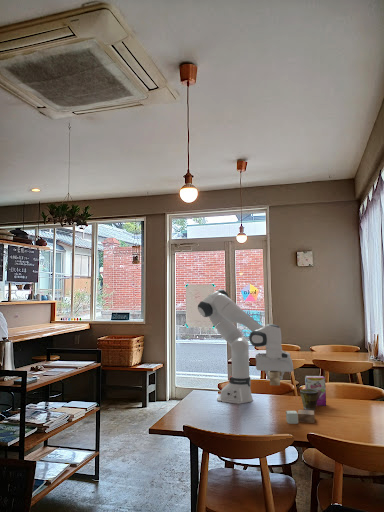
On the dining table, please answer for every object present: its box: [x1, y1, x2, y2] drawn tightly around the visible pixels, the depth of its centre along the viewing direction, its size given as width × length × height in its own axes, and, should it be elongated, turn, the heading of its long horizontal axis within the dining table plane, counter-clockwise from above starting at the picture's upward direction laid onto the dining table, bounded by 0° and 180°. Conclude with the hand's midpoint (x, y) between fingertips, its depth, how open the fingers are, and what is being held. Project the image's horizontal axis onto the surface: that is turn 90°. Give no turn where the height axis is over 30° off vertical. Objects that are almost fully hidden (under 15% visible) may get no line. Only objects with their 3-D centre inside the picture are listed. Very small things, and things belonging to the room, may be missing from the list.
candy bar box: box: [304, 375, 327, 407], centre depth 229 cm, size 11×5×16 cm, turn 84°
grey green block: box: [285, 410, 299, 425], centre depth 197 cm, size 5×5×5 cm
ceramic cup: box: [299, 388, 318, 411], centre depth 220 cm, size 13×10×10 cm
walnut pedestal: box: [297, 409, 316, 424], centre depth 200 cm, size 8×8×4 cm
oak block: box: [269, 371, 281, 387], centre depth 211 cm, size 5×5×7 cm
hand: (274, 379), depth 211 cm, fingers closed on oak block, 5 cm apart
